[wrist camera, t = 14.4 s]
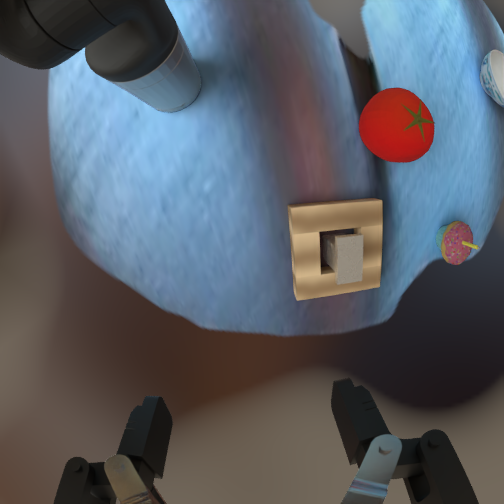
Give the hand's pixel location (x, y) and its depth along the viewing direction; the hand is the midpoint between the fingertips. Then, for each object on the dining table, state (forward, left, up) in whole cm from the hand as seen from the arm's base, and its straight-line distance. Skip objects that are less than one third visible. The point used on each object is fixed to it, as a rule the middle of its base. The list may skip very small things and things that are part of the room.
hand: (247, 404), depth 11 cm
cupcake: (+5, +40, -33) cm, 52 cm away
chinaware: (-31, +61, -33) cm, 76 cm away
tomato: (-15, +24, -33) cm, 44 cm away
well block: (+4, +15, -33) cm, 37 cm away
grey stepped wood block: (+4, +15, -33) cm, 36 cm away
